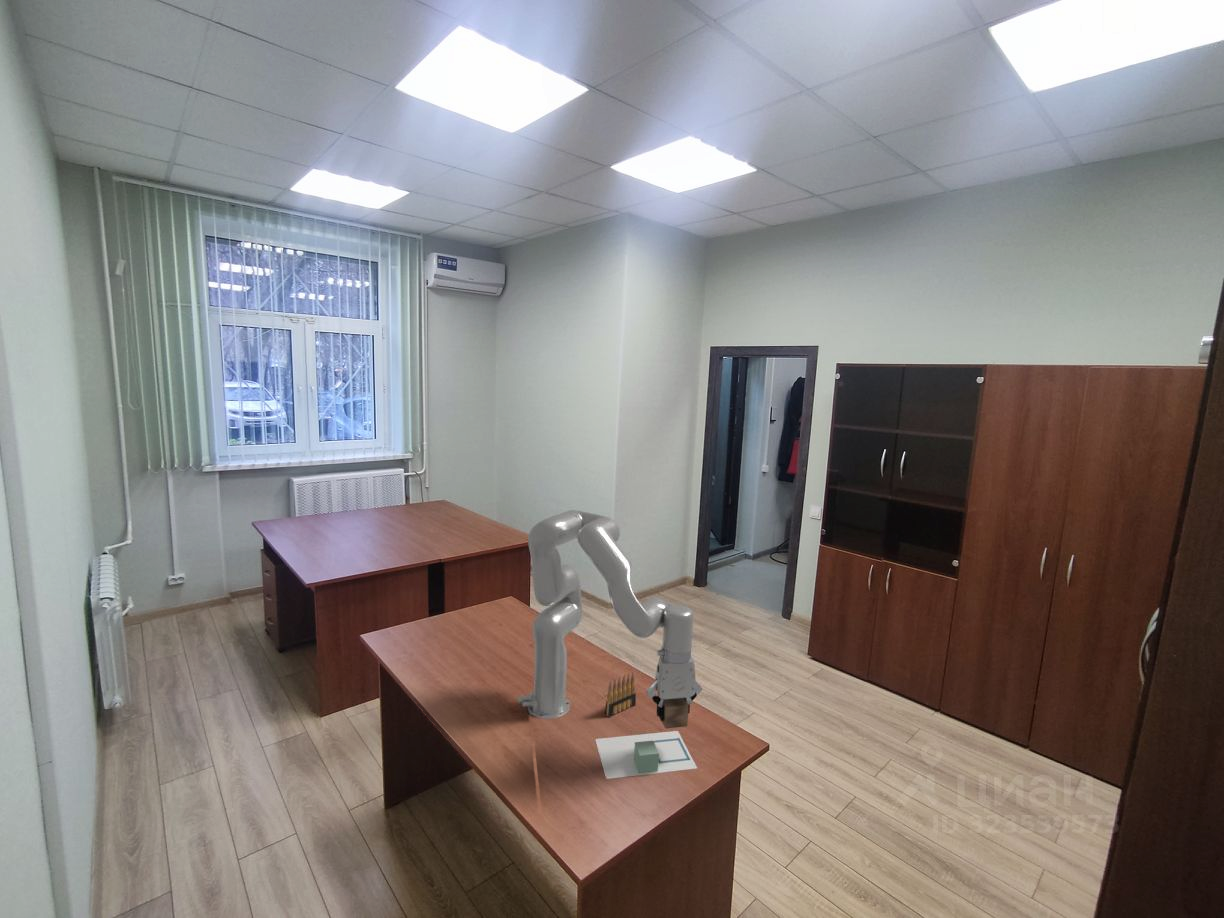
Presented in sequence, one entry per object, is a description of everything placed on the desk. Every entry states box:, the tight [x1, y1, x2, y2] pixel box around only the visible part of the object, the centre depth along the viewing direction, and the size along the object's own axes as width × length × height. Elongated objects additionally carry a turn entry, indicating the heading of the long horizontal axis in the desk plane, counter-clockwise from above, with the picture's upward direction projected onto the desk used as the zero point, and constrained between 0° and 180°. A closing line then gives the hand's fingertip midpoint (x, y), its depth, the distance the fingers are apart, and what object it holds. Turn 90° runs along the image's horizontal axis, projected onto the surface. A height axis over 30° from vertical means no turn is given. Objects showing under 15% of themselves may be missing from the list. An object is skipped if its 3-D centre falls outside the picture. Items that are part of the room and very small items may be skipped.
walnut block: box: [661, 698, 689, 729], centre depth 140 cm, size 6×6×6 cm
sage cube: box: [634, 741, 659, 774], centre depth 136 cm, size 5×5×5 cm
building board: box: [595, 730, 698, 780], centre depth 141 cm, size 24×15×1 cm, turn 102°
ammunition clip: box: [604, 670, 637, 718], centre depth 158 cm, size 11×2×12 cm, turn 129°
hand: (672, 716), depth 141 cm, fingers closed on walnut block, 6 cm apart
